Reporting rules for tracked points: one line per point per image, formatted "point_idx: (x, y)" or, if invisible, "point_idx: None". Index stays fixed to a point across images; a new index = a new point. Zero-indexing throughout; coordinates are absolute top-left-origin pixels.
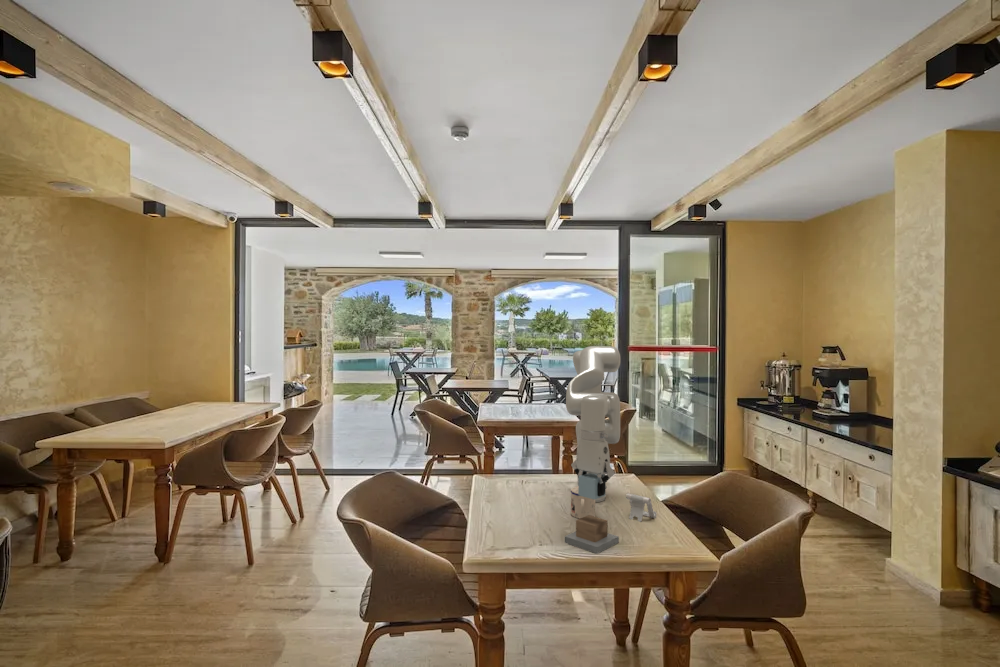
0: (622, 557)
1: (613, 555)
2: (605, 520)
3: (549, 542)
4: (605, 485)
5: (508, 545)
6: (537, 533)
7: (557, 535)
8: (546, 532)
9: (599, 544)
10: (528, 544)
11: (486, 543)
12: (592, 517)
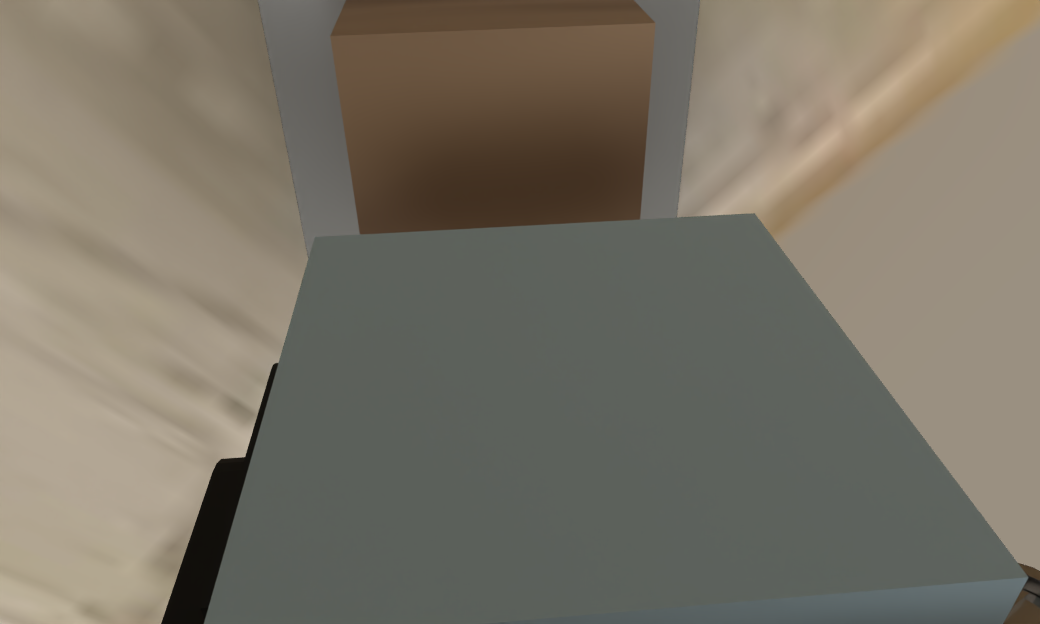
0: (853, 149)
1: (776, 171)
2: (635, 49)
3: (244, 343)
4: (854, 349)
5: (129, 551)
6: (4, 286)
7: (144, 189)
8: (18, 210)
9: (659, 216)
10: (187, 464)
11: (25, 614)
12: (438, 87)
